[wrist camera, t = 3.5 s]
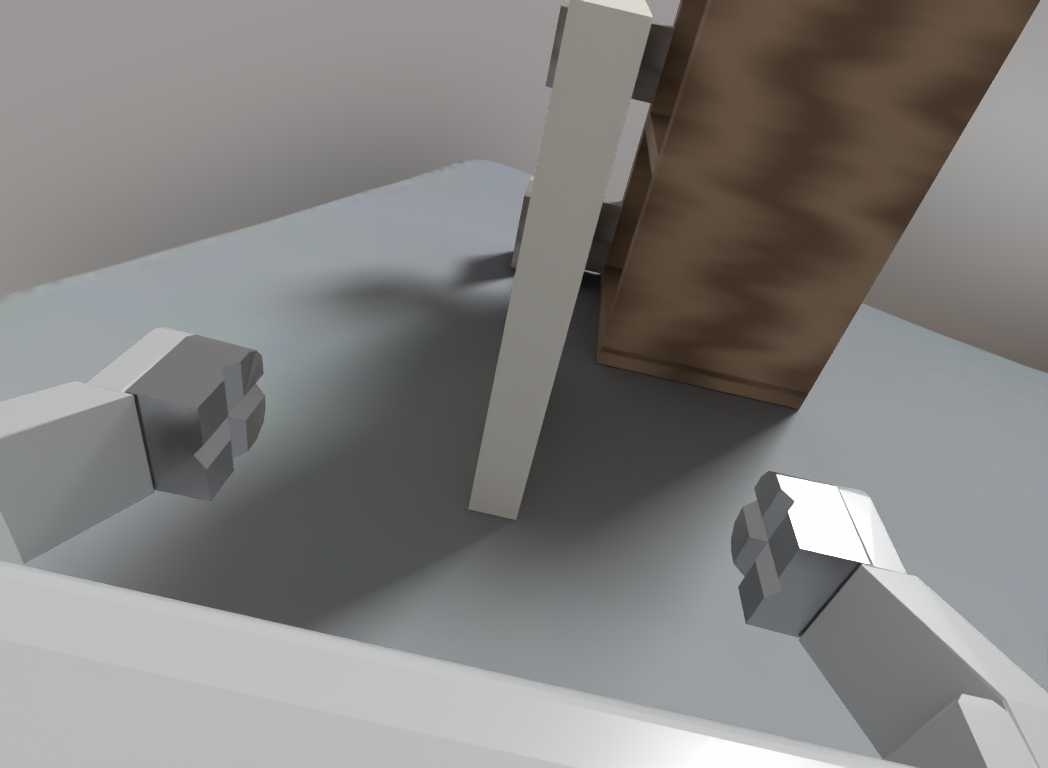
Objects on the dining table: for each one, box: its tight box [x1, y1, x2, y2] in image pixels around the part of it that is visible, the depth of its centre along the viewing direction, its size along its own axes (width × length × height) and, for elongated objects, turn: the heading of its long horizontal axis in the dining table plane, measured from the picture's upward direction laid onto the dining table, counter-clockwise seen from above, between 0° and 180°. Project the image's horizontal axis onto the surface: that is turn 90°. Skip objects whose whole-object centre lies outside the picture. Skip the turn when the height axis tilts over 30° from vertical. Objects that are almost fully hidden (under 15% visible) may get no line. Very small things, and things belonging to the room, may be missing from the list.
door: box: [468, 0, 653, 520], centre depth 24 cm, size 2×11×18 cm, turn 172°
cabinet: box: [511, 0, 1040, 409], centre depth 34 cm, size 18×13×22 cm
